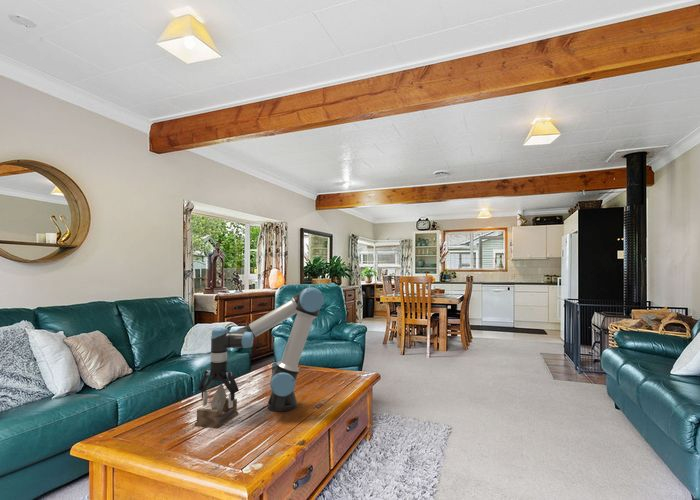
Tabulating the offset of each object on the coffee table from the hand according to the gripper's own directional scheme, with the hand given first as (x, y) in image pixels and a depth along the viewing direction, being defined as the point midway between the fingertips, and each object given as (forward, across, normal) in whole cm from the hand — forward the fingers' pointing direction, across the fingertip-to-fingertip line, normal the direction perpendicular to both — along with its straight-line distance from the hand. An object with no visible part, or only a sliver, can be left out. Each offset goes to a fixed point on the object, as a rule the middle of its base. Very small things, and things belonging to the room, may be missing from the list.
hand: (217, 406), depth 181 cm
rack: (+6, 0, 0) cm, 6 cm away
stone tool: (+5, 0, 0) cm, 5 cm away
